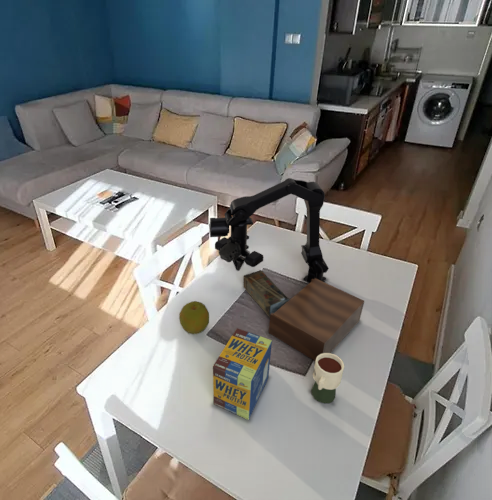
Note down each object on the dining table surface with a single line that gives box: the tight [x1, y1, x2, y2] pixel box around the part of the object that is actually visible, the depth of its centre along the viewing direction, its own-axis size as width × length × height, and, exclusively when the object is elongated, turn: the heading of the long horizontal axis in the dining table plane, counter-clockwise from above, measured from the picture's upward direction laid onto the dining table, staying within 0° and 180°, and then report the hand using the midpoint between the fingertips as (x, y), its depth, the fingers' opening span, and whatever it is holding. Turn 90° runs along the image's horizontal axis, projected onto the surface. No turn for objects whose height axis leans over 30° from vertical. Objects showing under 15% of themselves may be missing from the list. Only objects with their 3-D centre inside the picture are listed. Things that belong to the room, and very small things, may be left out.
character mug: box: [310, 352, 345, 404], centre depth 101 cm, size 11×7×13 cm, turn 144°
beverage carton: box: [242, 269, 290, 318], centre depth 137 cm, size 8×19×7 cm, turn 24°
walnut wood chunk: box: [268, 278, 365, 362], centre depth 124 cm, size 25×19×9 cm
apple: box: [178, 300, 210, 335], centre depth 125 cm, size 10×10×11 cm
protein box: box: [212, 327, 273, 420], centre depth 102 cm, size 10×15×16 cm
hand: (238, 270), depth 143 cm, fingers closed
